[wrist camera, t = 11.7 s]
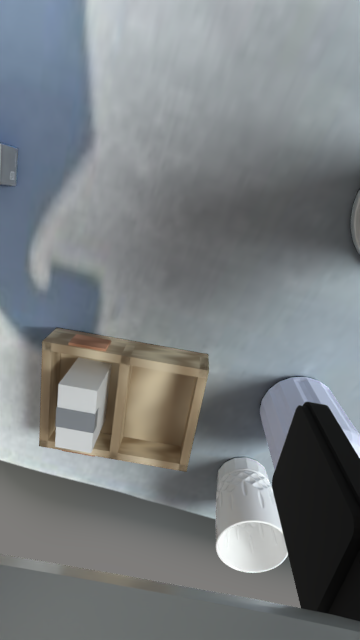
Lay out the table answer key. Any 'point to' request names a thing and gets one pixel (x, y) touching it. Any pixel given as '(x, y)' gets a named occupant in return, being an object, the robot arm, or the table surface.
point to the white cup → (247, 518)
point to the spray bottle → (283, 404)
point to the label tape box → (8, 164)
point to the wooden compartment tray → (131, 396)
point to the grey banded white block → (82, 404)
